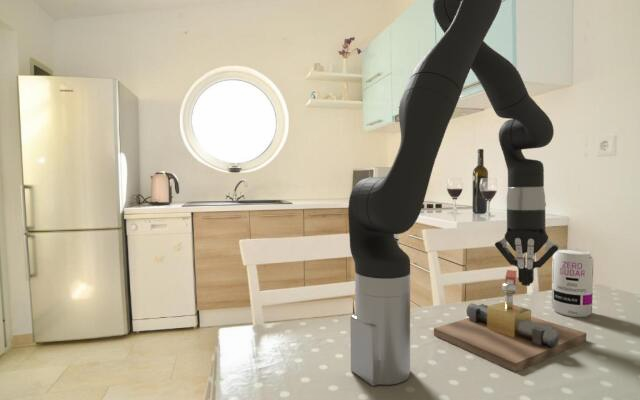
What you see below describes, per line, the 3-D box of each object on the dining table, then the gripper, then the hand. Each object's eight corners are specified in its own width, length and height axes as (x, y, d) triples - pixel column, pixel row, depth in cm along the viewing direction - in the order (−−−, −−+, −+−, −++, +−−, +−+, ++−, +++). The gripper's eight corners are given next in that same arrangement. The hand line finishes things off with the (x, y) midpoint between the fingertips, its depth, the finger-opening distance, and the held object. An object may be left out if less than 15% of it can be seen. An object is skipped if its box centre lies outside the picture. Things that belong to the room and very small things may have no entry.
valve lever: (516, 294, 75) (516, 286, 75) (501, 292, 76) (501, 285, 76) (518, 277, 88) (518, 270, 88) (505, 276, 89) (505, 269, 89)
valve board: (515, 372, 64) (515, 363, 64) (433, 335, 79) (433, 328, 79) (586, 340, 76) (586, 333, 76) (503, 313, 91) (503, 307, 91)
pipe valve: (545, 355, 68) (546, 308, 68) (462, 324, 84) (463, 285, 83) (562, 348, 71) (563, 302, 71) (479, 319, 87) (479, 281, 86)
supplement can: (578, 307, 96) (580, 248, 95) (599, 318, 87) (601, 255, 87) (545, 306, 96) (546, 248, 96) (562, 317, 88) (564, 254, 88)
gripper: (489, 208, 84) (490, 284, 85) (559, 208, 76) (559, 293, 77) (497, 206, 90) (497, 277, 91) (562, 206, 82) (562, 285, 83)
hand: (526, 284), depth 84 cm, fingers closed
